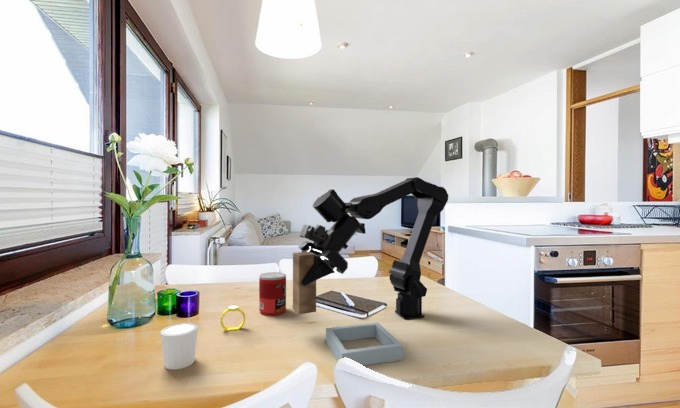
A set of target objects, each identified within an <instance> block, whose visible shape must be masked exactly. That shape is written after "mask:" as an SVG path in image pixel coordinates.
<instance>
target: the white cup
mask: <svg viewBox="0 0 680 408" xmlns="http://www.w3.org/2000/svg"><path fill="white" fill-rule="evenodd" d="M198 327H199V326H198V325H197V324H195V323H193V322H192V323H191V322H184V323H183V322H182V323H176V324H172V325H169V326H166V327H164V328H163V329H162V330H160V338H161V339H160V340H161V347H162V350H161V351H162V359H163V366H164V369H167V370H182V369H184V368H188V367H189V366H191V365H192V364H194V362H195V361H196V360H195V359H196V348H197V340H198V329H199V328H198Z"/></svg>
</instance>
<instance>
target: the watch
mask: <svg viewBox="0 0 680 408" xmlns="http://www.w3.org/2000/svg"><path fill="white" fill-rule="evenodd" d="M237 311H238V312H240V313H241V315H242V317H243V320H242V322H241V324H239V326H237V327H236V326H235V327H234V326H233V327H227V326H226V325H225V324H224V322H223V318H224V316H225V314H226V313H229V312H237ZM245 322H246V314H245V312H244V311H243V309H242V308H240V306H239V305H233V304H232V305H229V306H228V307H227V309H225V310H223V312H222V314H221V316H220V325H221V327H222V329H224V330H225V331H226V332H229V331H230V332H231V331H239V330H241V329H242V327H243V326H244V324H245Z"/></svg>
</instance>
